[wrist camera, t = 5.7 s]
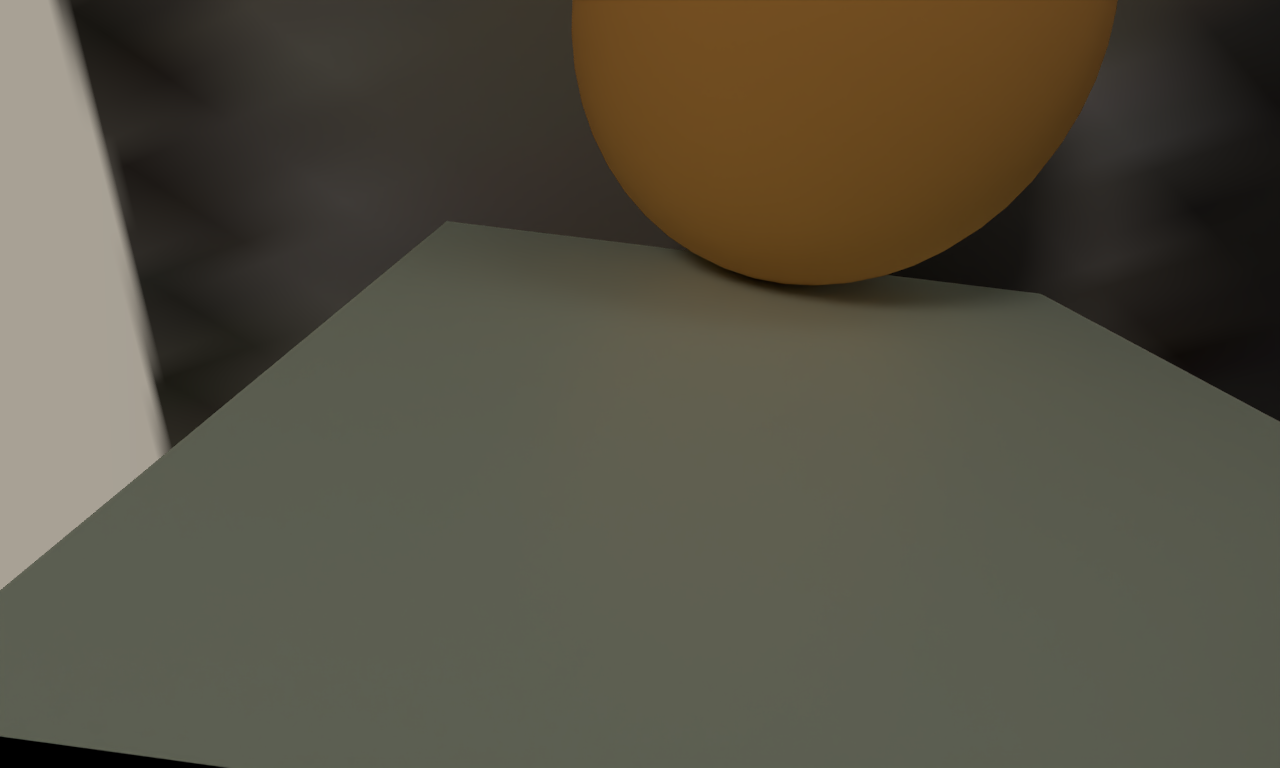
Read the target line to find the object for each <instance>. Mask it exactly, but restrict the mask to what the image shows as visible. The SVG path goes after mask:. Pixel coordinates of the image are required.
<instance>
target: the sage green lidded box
mask: <svg viewBox="0 0 1280 768" xmlns="http://www.w3.org/2000/svg"><path fill="white" fill-rule="evenodd" d="M0 768H1280V422H1279V421H1277V420H1275V419H1273V418H1272V417H1270V416H1268V415H1266V414H1264V413H1262V412H1260V411H1258V410H1257V409H1255V408H1253V407H1251V406H1249V405H1247V404H1245V403H1244V402H1242V401H1240V400H1238V399H1236V398H1234V397H1232V396H1230V395H1229V394H1227V393H1225V392H1223V391H1221V390H1219V389H1217V388H1216V387H1214V386H1212V385H1210V384H1208V383H1206V382H1204V381H1202V380H1201V379H1199V378H1197V377H1195V376H1193V375H1191V374H1189V373H1188V372H1186V371H1184V370H1182V369H1180V368H1178V367H1176V366H1174V365H1173V364H1171V363H1169V362H1167V361H1165V360H1163V359H1161V358H1160V357H1158V356H1156V355H1154V354H1152V353H1150V352H1148V351H1146V350H1145V349H1143V348H1141V347H1139V346H1137V345H1135V344H1133V343H1132V342H1130V341H1128V340H1126V339H1124V338H1122V337H1120V336H1118V335H1117V334H1115V333H1113V332H1111V331H1109V330H1107V329H1105V328H1104V327H1102V326H1100V325H1098V324H1096V323H1094V322H1092V321H1090V320H1089V319H1087V318H1085V317H1083V316H1081V315H1079V314H1077V313H1076V312H1074V311H1072V310H1070V309H1068V308H1066V307H1064V306H1063V305H1061V304H1059V303H1057V302H1055V301H1053V300H1051V299H1049V298H1048V297H1046V296H1044V295H1042V294H1038V293H1030V292H1022V291H1014V290H1006V289H998V288H989V287H981V286H973V285H965V284H957V283H948V282H940V281H932V280H924V279H916V278H908V277H899V276H891V275H885V276H881V277H876V278H871V279H866V280H861V281H856V282H851V283H843V284H829V285H816V286H811V285H793V284H781V283H776V282H771V281H766V280H760V279H755V278H752V277H749V276H746V275H743V274H740V273H737V272H734V271H731V270H728V269H725V268H723V267H720V266H718V265H716V264H714V263H712V262H710V261H708V260H706V259H704V258H702V257H700V256H698V255H696V254H694V253H693V252H691V251H687V250H678V249H670V248H662V247H654V246H646V245H638V244H629V243H621V242H613V241H605V240H597V239H588V238H580V237H572V236H564V235H556V234H548V233H539V232H531V231H523V230H515V229H507V228H498V227H490V226H482V225H474V224H466V223H458V222H449V221H446V222H445V223H444V224H443V225H442V226H440V227H439V228H438V229H437V230H436V231H434V232H433V233H432V234H431V235H430V236H428V237H427V238H426V239H425V240H423V241H422V242H421V243H420V244H419V245H417V246H416V247H415V248H414V249H413V250H411V251H410V252H409V253H408V254H407V255H405V256H404V257H403V258H402V259H401V260H399V261H398V262H397V263H396V264H394V265H393V266H392V267H391V268H390V269H388V270H387V271H386V272H385V273H384V274H382V275H381V276H380V277H379V278H378V279H376V280H375V281H374V282H373V283H371V284H370V285H369V286H368V287H367V288H365V289H364V290H363V291H362V292H361V293H359V294H358V295H357V296H356V297H355V298H353V299H352V300H351V301H350V302H348V303H347V304H346V305H345V306H344V307H342V308H341V309H340V310H339V311H338V312H336V313H335V314H334V315H333V316H332V317H330V318H329V319H328V320H327V321H326V322H324V323H323V324H322V325H321V326H319V327H318V328H317V329H316V330H315V331H313V332H312V333H311V334H310V335H309V336H307V337H306V338H305V339H304V340H303V341H301V342H300V343H299V344H298V345H296V346H295V347H294V348H293V349H292V350H290V351H289V352H288V353H287V354H286V355H284V356H283V357H282V358H281V359H280V360H278V361H277V362H276V363H275V364H274V365H272V366H271V367H270V368H269V369H267V370H266V371H265V372H264V373H263V374H261V375H260V376H259V377H258V378H257V379H255V380H254V381H253V382H252V383H251V384H249V385H248V386H247V387H246V388H244V389H243V390H242V391H241V392H240V393H238V394H237V395H236V396H235V397H234V398H232V399H231V400H230V401H229V402H228V403H226V404H225V405H224V406H223V407H222V408H220V409H219V410H218V411H217V412H215V413H214V414H213V415H212V416H211V417H209V418H208V419H207V420H206V421H205V422H203V423H202V424H201V425H200V426H199V427H197V428H196V429H195V430H194V431H192V432H191V433H190V434H189V435H188V436H186V437H185V438H184V439H183V440H182V441H180V442H179V443H178V444H177V445H176V446H174V447H173V448H172V449H171V450H169V451H168V452H167V453H166V454H165V455H163V456H162V457H161V458H160V459H159V460H157V461H156V462H155V463H154V464H153V465H151V466H150V467H149V468H148V469H147V470H145V471H144V472H143V473H142V474H141V475H139V476H138V477H137V478H136V479H134V480H133V481H132V482H131V483H130V484H128V485H127V486H126V487H125V488H124V489H122V490H121V491H120V492H119V493H118V494H116V495H115V496H114V497H113V498H111V499H110V500H109V501H108V502H107V503H105V504H104V505H103V506H102V507H101V508H99V509H98V510H97V511H96V512H95V513H93V514H92V515H91V516H90V517H89V518H87V519H86V520H85V521H84V522H82V523H81V524H80V525H79V526H78V527H76V528H75V529H74V530H73V531H72V532H70V533H69V534H68V535H67V536H65V537H64V538H63V539H62V540H61V541H60V542H58V543H57V544H56V545H55V546H53V547H52V548H51V549H50V550H49V551H47V552H46V553H45V554H44V555H42V556H41V557H40V558H39V559H38V560H36V561H35V562H34V563H33V564H32V565H30V566H29V567H28V568H27V569H26V570H24V571H23V572H22V573H21V574H20V575H18V576H17V577H16V578H15V579H14V580H12V581H11V582H10V583H9V584H7V585H6V586H5V587H4V588H3V589H1V590H0Z"/></svg>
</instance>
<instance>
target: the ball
mask: <svg viewBox="0 0 1280 768" xmlns="http://www.w3.org/2000/svg"><path fill="white" fill-rule="evenodd" d="M1116 9H1117V0H573V6H572V42H573V54H574V65H575V72H576V77H577V82H578V86H579V91H580V96H581V101H582V105H583V108H584V111H585V113H586V116H587V119H588V122H589V125H590V128H591V131H592V134H593V136H594V138H595V141H596V143H597V145H598V147H599V149H600V151H601V153H602V155H603V157H604V159H605V161H606V163H607V165H608V167H609V168H610V170H611V171H612V173H613V174H614V176H615V177H616V179H617V180H618V182H619V183H620V185H621V186H622V188H623V189H624V191H625V192H626V194H627V195H628V196H629V197H630V198H631V199H632V201H633V202H634V203H635V204H636V205H637V206H638V208H639V209H640V210H641V211H642V212H643V213H644V215H645V216H646V217H648V218H649V219H650V220H651V221H652V222H653V223H654V224H655V225H656V226H658V227H659V228H660V229H661V230H662V231H663V232H664V233H665V234H667V235H668V236H669V237H670V238H672V239H673V240H675V241H676V242H678V243H679V244H681V245H682V246H684V247H685V248H687V249H688V250H690V251H691V252H693V253H694V254H696V255H698V256H700V257H702V258H704V259H706V260H708V261H710V262H712V263H714V264H716V265H718V266H720V267H723V268H725V269H728V270H731V271H734V272H737V273H740V274H743V275H746V276H749V277H752V278H755V279H760V280H766V281H771V282H776V283H781V284H793V285H811V286H816V285H829V284H843V283H851V282H856V281H861V280H866V279H871V278H876V277H881V276H885V275H888V274H891V273H894V272H897V271H900V270H903V269H906V268H908V267H911V266H914V265H916V264H918V263H921V262H923V261H925V260H927V259H929V258H931V257H933V256H935V255H937V254H939V253H941V252H943V251H945V250H947V249H948V248H950V247H952V246H953V245H955V244H956V243H958V242H960V241H961V240H963V239H964V238H966V237H967V236H969V235H971V234H972V233H974V232H975V231H977V230H978V229H980V228H982V227H983V226H984V225H985V224H986V223H988V222H989V221H990V220H991V219H993V218H994V217H995V216H996V215H997V214H999V213H1000V212H1001V211H1002V210H1004V209H1005V208H1006V207H1007V206H1008V205H1009V204H1010V203H1011V202H1012V201H1013V200H1014V199H1015V198H1016V197H1017V196H1018V195H1019V194H1020V193H1021V192H1022V191H1023V190H1024V189H1025V188H1026V187H1027V186H1028V185H1029V184H1030V183H1031V182H1032V181H1033V180H1034V178H1035V177H1036V176H1037V174H1038V173H1039V172H1040V171H1041V169H1042V168H1043V167H1044V166H1045V164H1046V163H1047V162H1048V160H1049V159H1050V158H1051V157H1052V155H1053V154H1054V153H1055V151H1056V150H1057V149H1058V147H1059V146H1060V145H1061V143H1062V141H1063V140H1064V138H1065V137H1066V135H1067V133H1068V132H1069V130H1070V129H1071V127H1072V125H1073V124H1074V122H1075V120H1076V119H1077V117H1078V116H1079V114H1080V112H1081V110H1082V108H1083V106H1084V104H1085V102H1086V100H1087V98H1088V95H1089V93H1090V91H1091V89H1092V87H1093V85H1094V83H1095V81H1096V78H1097V75H1098V72H1099V70H1100V67H1101V64H1102V61H1103V58H1104V55H1105V52H1106V50H1107V47H1108V43H1109V39H1110V35H1111V30H1112V26H1113V22H1114V17H1115V13H1116Z"/></svg>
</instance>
